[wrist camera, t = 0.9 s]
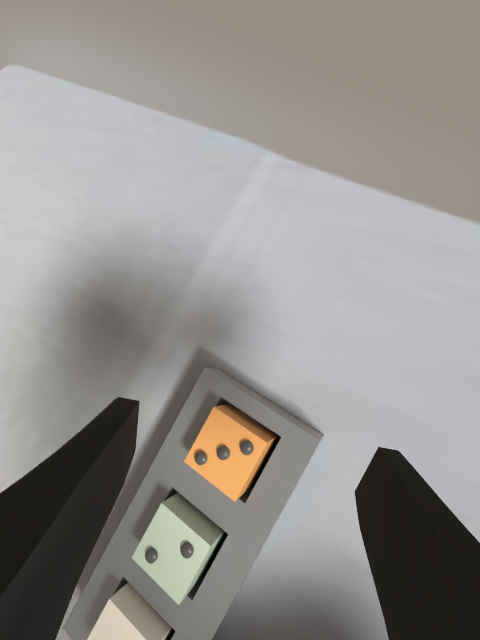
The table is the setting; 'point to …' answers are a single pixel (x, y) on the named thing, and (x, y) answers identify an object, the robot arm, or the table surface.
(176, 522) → the button two sage
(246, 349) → the table surface
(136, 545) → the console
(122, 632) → the button one cream
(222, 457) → the button three orange
